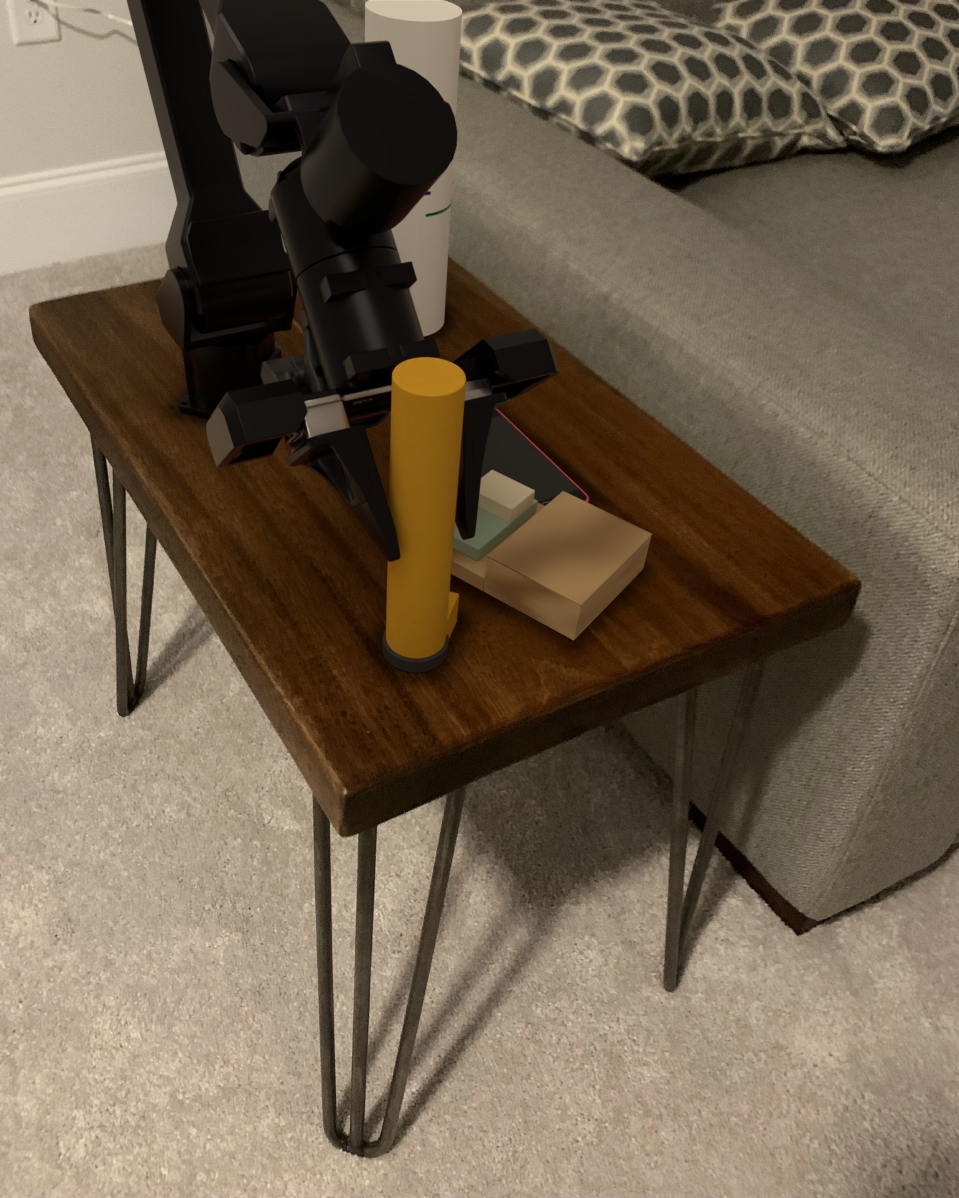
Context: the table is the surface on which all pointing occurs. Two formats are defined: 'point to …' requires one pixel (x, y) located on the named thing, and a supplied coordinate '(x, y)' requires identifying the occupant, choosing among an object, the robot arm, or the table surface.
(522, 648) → the table surface
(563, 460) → the table surface
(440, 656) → the tall yellow cylinder post
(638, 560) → the flat tan slab box
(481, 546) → the two-tone stepped block
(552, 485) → the smartphone
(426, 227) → the cylindrical container
